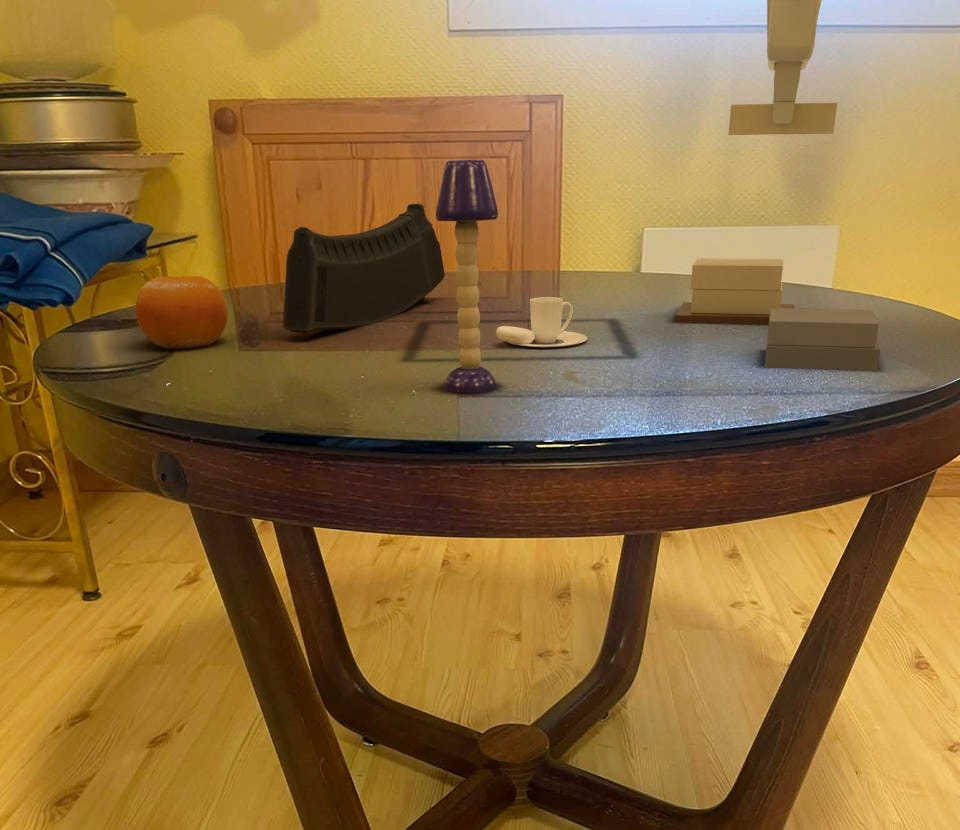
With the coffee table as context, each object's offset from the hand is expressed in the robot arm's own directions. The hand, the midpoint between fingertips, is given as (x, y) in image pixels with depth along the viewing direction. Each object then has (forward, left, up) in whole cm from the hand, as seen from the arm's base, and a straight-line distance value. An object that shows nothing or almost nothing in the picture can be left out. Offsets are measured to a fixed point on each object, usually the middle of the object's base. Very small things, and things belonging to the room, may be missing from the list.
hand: (781, 124), depth 92 cm
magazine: (+42, -2, -19) cm, 46 cm away
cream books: (+3, -8, -19) cm, 21 cm away
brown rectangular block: (-5, +14, -19) cm, 23 cm away
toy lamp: (+22, +29, -19) cm, 40 cm away
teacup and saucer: (+23, +7, -19) cm, 30 cm away
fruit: (+55, +15, -19) cm, 60 cm away
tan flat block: (0, 0, -1) cm, 1 cm away
